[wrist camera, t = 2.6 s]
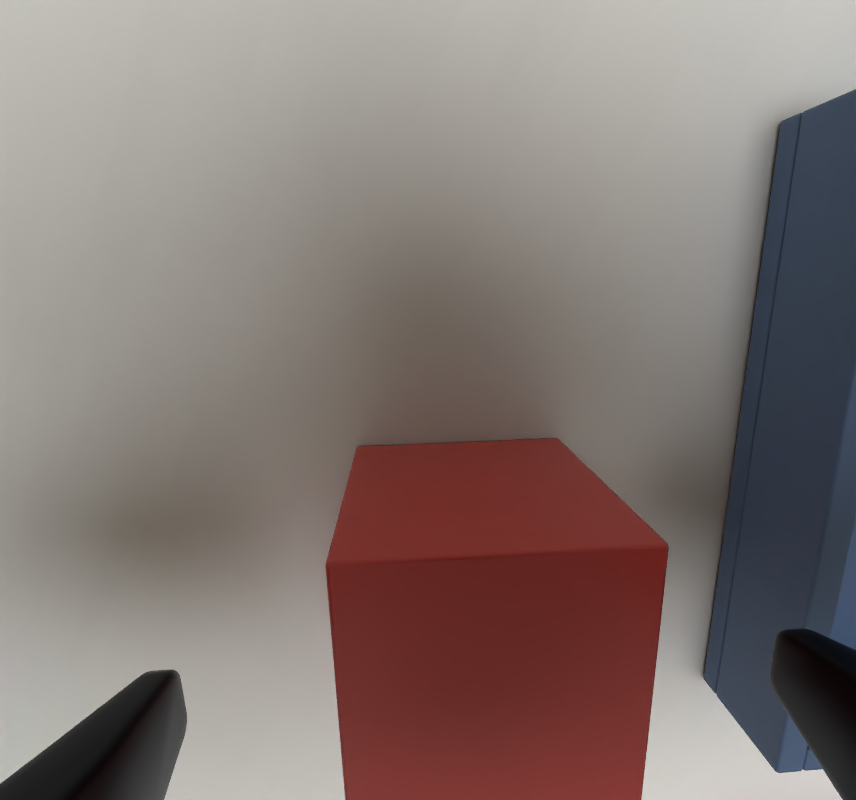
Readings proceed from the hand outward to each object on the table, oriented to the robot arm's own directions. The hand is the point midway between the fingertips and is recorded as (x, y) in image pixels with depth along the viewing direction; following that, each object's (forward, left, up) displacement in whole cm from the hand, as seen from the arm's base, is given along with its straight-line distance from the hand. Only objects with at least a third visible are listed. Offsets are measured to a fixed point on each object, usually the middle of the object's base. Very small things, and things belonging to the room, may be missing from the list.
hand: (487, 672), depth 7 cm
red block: (0, 0, -4) cm, 4 cm away
